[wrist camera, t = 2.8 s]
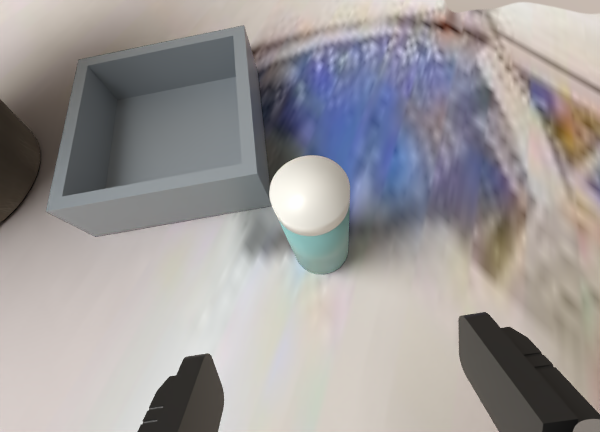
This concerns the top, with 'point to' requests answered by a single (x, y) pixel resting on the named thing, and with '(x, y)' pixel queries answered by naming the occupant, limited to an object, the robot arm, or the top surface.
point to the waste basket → (15, 161)
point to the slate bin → (162, 136)
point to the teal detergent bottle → (313, 211)
